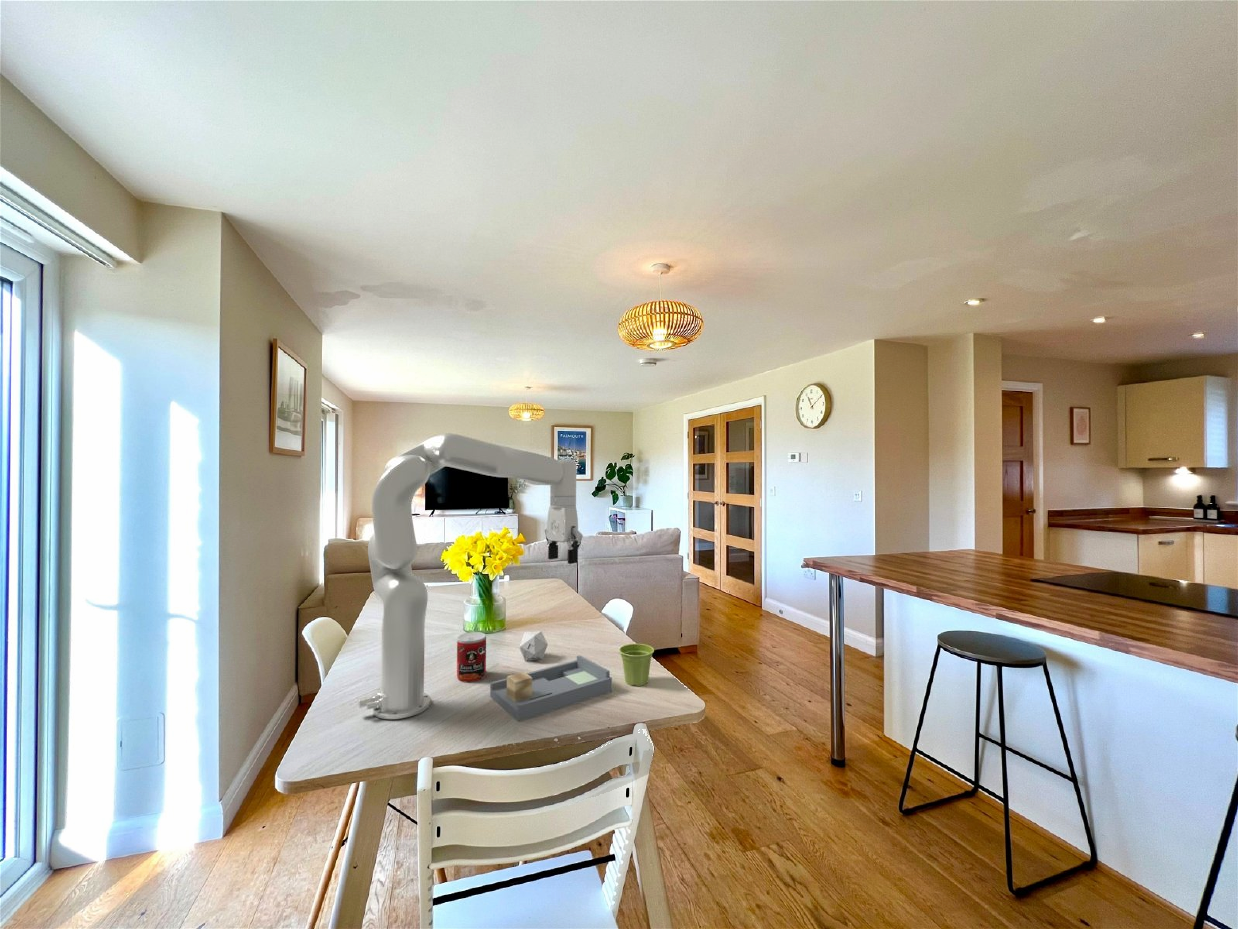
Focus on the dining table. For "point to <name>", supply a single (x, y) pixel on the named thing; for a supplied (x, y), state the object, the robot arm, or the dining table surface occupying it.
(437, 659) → the dining table surface
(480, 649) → the canned food
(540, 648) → the die
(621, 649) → the plant pot
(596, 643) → the dining table surface
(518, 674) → the block
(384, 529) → the robot arm
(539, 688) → the box
